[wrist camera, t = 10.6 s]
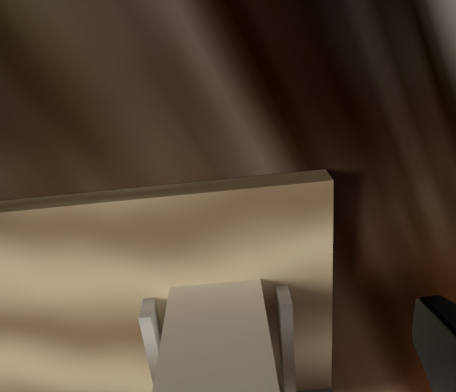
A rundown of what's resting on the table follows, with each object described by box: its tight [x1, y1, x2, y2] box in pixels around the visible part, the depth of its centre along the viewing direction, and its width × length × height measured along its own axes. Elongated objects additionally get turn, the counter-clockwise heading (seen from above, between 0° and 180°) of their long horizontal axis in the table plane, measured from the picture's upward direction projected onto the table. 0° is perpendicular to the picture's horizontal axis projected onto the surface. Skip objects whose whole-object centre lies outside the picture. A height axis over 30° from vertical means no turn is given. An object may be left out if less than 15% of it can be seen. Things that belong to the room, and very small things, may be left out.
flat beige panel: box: [0, 169, 334, 392], centre depth 21 cm, size 14×22×4 cm, turn 95°
